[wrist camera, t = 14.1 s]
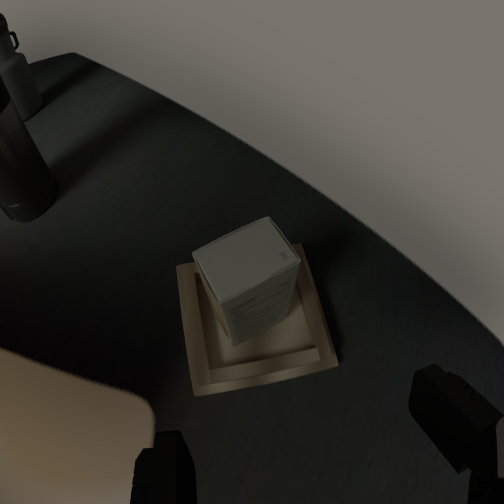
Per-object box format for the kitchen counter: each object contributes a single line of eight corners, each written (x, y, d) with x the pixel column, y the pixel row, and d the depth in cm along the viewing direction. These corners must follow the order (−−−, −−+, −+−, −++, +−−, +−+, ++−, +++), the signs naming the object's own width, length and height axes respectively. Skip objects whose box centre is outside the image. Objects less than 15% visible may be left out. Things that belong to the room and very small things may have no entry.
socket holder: (195, 396, 28) (191, 394, 26) (178, 269, 35) (173, 258, 33) (336, 367, 30) (342, 362, 27) (300, 248, 36) (303, 236, 34)
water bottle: (16, 109, 57) (-20, 22, 33) (47, 95, 59) (14, 2, 35) (6, 131, 52) (-38, 36, 28) (39, 115, 54) (-1, 13, 30)
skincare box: (265, 284, 33) (272, 211, 23) (287, 319, 31) (307, 258, 21) (209, 312, 31) (188, 249, 21) (230, 350, 30) (217, 304, 19)
